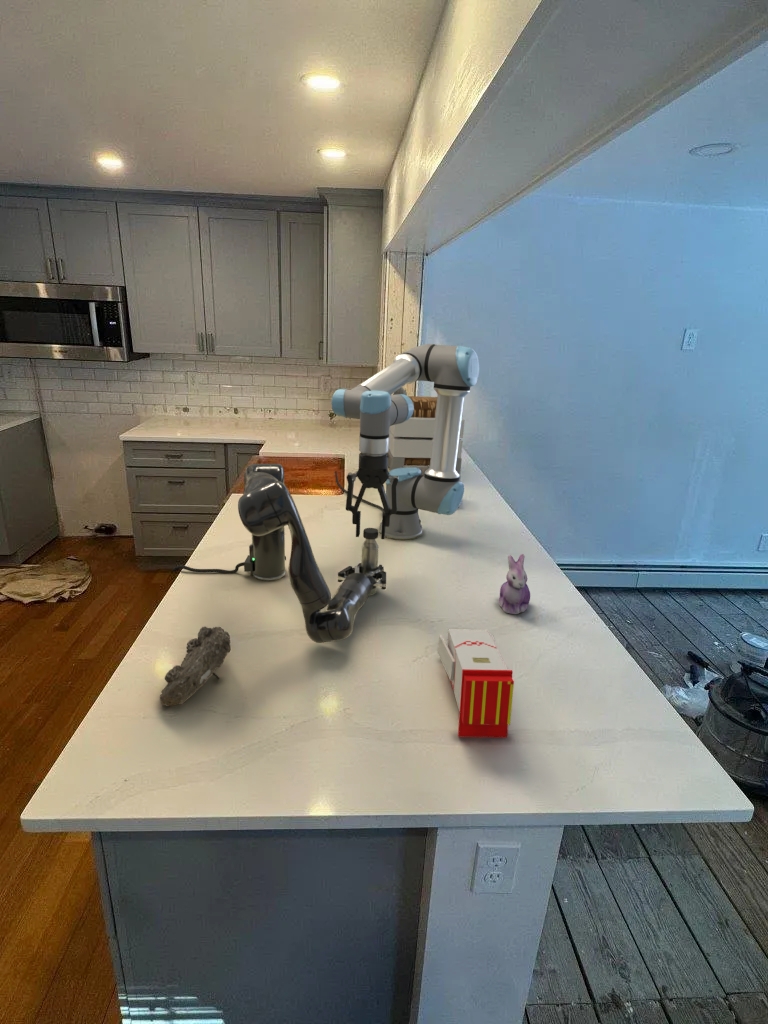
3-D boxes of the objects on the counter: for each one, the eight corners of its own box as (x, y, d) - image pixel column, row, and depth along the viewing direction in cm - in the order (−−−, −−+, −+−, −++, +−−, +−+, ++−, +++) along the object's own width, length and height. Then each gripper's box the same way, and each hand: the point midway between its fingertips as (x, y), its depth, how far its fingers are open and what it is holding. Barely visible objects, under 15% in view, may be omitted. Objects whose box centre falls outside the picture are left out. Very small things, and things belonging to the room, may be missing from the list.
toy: (488, 613, 130) (523, 677, 101) (484, 667, 133) (517, 744, 104) (435, 612, 130) (455, 676, 101) (432, 666, 133) (451, 743, 103)
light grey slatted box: (382, 463, 289) (386, 382, 275) (445, 464, 293) (451, 384, 279) (390, 482, 257) (394, 392, 243) (460, 483, 261) (468, 394, 247)
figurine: (512, 619, 147) (519, 566, 142) (488, 601, 156) (494, 551, 151) (540, 611, 151) (548, 560, 146) (515, 594, 160) (522, 546, 155)
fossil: (184, 629, 128) (231, 598, 123) (214, 657, 131) (261, 628, 126) (138, 700, 109) (191, 667, 104) (173, 731, 112) (227, 701, 107)
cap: (380, 536, 154) (381, 530, 153) (372, 540, 150) (372, 534, 150) (369, 532, 156) (369, 526, 155) (360, 537, 153) (360, 530, 152)
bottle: (364, 596, 156) (366, 536, 150) (357, 589, 160) (359, 530, 154) (379, 593, 158) (382, 534, 152) (372, 586, 162) (374, 528, 155)
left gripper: (380, 584, 140) (397, 557, 156) (326, 575, 144) (348, 550, 159) (379, 611, 143) (396, 582, 159) (326, 601, 146) (347, 574, 162)
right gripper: (411, 451, 148) (406, 533, 156) (339, 447, 149) (337, 528, 157) (410, 458, 141) (405, 544, 149) (334, 453, 142) (332, 538, 150)
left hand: (371, 566), depth 159 cm, fingers closed on bottle, 4 cm apart
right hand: (370, 536), depth 153 cm, fingers open, 6 cm apart
